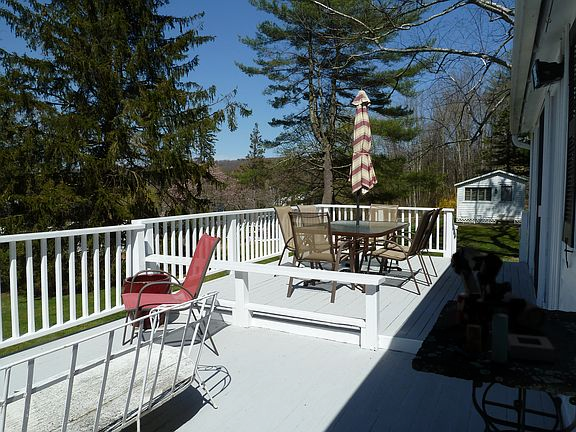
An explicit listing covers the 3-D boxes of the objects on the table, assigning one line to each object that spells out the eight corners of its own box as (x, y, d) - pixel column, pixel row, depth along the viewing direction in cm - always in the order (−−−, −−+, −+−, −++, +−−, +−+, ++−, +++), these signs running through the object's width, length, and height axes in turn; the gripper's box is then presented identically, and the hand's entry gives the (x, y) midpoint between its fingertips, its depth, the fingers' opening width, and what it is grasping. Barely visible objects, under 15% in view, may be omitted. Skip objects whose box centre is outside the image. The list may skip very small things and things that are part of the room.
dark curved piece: (548, 332, 165) (549, 305, 164) (523, 332, 165) (523, 305, 165) (518, 315, 188) (518, 291, 187) (495, 315, 188) (496, 292, 187)
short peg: (466, 351, 146) (467, 327, 145) (466, 347, 150) (466, 323, 149) (481, 353, 144) (481, 328, 144) (480, 348, 148) (480, 325, 148)
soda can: (460, 321, 180) (460, 291, 179) (479, 324, 175) (479, 294, 174) (454, 325, 174) (454, 295, 173) (473, 329, 169) (473, 297, 169)
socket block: (510, 357, 140) (510, 345, 140) (505, 345, 151) (506, 333, 151) (554, 362, 136) (554, 349, 136) (546, 349, 147) (546, 337, 147)
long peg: (492, 362, 137) (493, 316, 136) (491, 357, 141) (491, 313, 140) (508, 363, 135) (509, 318, 134) (506, 358, 139) (507, 314, 139)
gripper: (463, 272, 144) (473, 315, 133) (524, 272, 142) (539, 316, 131) (457, 291, 152) (465, 333, 142) (514, 291, 150) (528, 334, 139)
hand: (499, 329), depth 138 cm, fingers open, 9 cm apart
